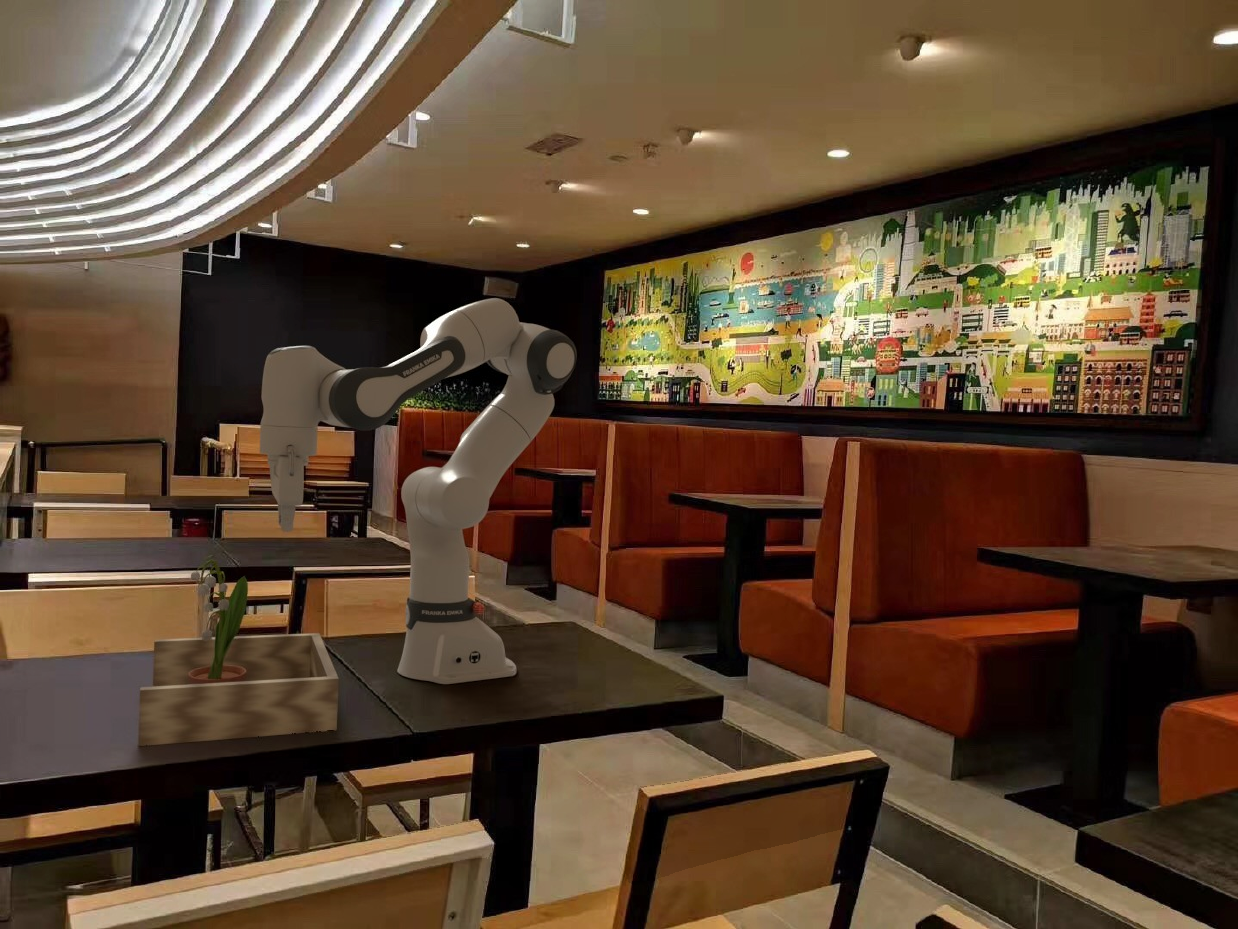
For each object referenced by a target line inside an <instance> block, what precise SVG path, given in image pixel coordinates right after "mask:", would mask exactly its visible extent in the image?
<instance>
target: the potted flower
mask: <svg viewBox="0 0 1238 929" xmlns="http://www.w3.org/2000/svg"><path fill="white" fill-rule="evenodd" d="M208 558H212V559H210V560H208V561H206V562H205V560H206V559H208ZM213 558H214V555H208V556H206V557H204V559H203V560H202V562H201V566H199V567H198V568H197V570H196V571H193V572H191V573H190V578H188V579H189V580H191V581H196V582H200V584H199V585H198V586H197V588H196V589H197V590H196V591H197V592H198V594H197V596H200V597H205V596H209V597H208V601H207V603H205V604H204V605H203V606H204V607H203V608H204V610H203V612H206V613H209V612H212V613H211V614H210V616H209V618H208V621H207V624H206V629H204V630H203V631H202V632H201V634H200V635H201V638H202V639H200V640H204V641H207V640H212V637H213V631H212V630H210V629H208V628H209V625H210V624H209V623H210V621H211V619H212V617H213V616H214V615H215V614H218V616H219V619H218V621H217V623H216V626H215V632H214V634H215V636H214V637H215V657H214V660H213V663H212V666H207V667H201V668H197V669H194V670H192V671H190V672H189V673H188V677H189V681H188V685H189V684H207V683H224V682H242V681H246V676H245V675H246V673H247V671H246V669H244V668H242V667H238V666H231V665H223V659H224V657H225V655H226V653H227V651H228V649H229V647H230V644H231V642H232V640H233V639H234V637H235V636H236V635H237V634H238V633H239V631H240V628H241V627H240V626H241V624H242V622H243V619H244V617H245V612H246V611H247V610H246V609H247V602H248V592H249V582H248V580H247V578H246V575H244V576H242V577H240V579H238V580H237V582H236V583H235V586H234V587H233V590H232V592H231V594H230V596H229V598H228V599H226V595H227V592H228V591H227V590H228V585H227V583H225V580H226V575H225V573H224V571H221V569H220V567H219V564H218V562H216V560H215V559H213ZM204 562H205V563H204ZM203 563H204V564H203ZM210 564H212V565H213V566H212V567H210V570H209V572H208V573H207V574H206V575H205V576H204V574H205V571H206V568H207V567H208V566H209V565H210ZM201 568H202V570H201V573H200V572H199V571H198V570H200V569H201ZM214 568H215V570H213V569H214ZM213 574H217V579H216V577H215V576H212V575H213ZM217 580H218V583H216V582H217ZM217 584H218V590H217V592H216V591H214V592H212V593H210V592H211V590H210V589H211V588H215V587H217ZM213 594H215V595H216V596H218V597H219V598H218V599H219V601H218V607H216V608H217V609H218V610H215V611H214V604H213V603H212V602H210V600H211V597H212V595H213Z"/></svg>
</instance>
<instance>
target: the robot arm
mask: <svg viewBox="0 0 1238 929" xmlns="http://www.w3.org/2000/svg"><path fill="white" fill-rule="evenodd" d="M516 312H517V311H516V310H515V309H514V307H513V306H512V305H510V303H509V302H507V301H505V300H504V299H501V298H497V297H494V298H493V297H492V298H486V299H482V300H478V301H475V302H471V303H469V304H465V305H463V306H460V307H458V308H456V309H453V310H452V311H449V312H446V313H445V314H443V315H441V316H439V317H438V318H436V319H435V320H433V321H432V322H431V323H428V324H427V325H426V326H425V327H424V328H423V330H422V332H421V335H420V342H419V343H420V344H419V345H420V348H418V349H416V350H415V351H414V352H411V353H410V354H407V355H405V356H403V357H401V358H400V359H397V360H396V361H394V362H392V363H389V364H388V365H386V366H382V367H359V368H358V367H357V368H355V369H353V368H352V369H346V368H345V367H343V366H342V365H339V364H337V363H335V362H333V361H331V360H330V359H328V358H327V357H325V356H324V355H323V354H322V353H320V352H319V351H318V350H317V349H316V347H314V346H311V345H296V346H294V345H293V346H287V347H277V348H275V349H273V350H271V351H270V352H269V353H268V355H267V356H266V359H265V362H264V363H265V364H264V366H263V375H262V382H261V384H262V385H261V401H262V406H263V413H262V418H261V421H260V428H259V429H260V430H259V431H260V432H259V450H258V451H259V454H260V455H267V459H266V460H267V462H266V463H267V465H268V466H269V476H270V486H271V493H272V495H273V496H274V499H275V500H276V502H277V512H278V520H277V521H278V522H277V523H278V525H279V526H280V529H281V531H282V532H284V533H285V532H292V531H294V518H295V514H296V507H301V506H302V505H303V501H304V484H305V482H304V481H305V480H304V477H305V476H304V475H305V473H304V472H305V470H304V469H305V468H304V467H305V466H309V457H315V456H318V455H317V453H318V452H317V450H318V430H319V428H318V427H319V426H318V425H319V423H320V422H323V423H325V424H328V425H330V426H336V427H344V428H352V429H354V430H358V431H362V432H363V431H365V432H366V431H374V430H376V429H379V428H381V427H382V426H384V425H386V424H387V423H388V422H389V421H390V420H391V419H392V418H393V416H394V415H395V413H397V411H398V410H399V409H400V407H401V406H402V405H403V404H404V403H405V402H407V401H408V400H409V399H411V398H412V397H415V396H416V395H418V394H419V393H421V392H423V391H424V390H426V389H429V388H430V387H432V386H433V385H435V384H437V383H439V382H441V381H442V380H444V379H447V378H449V377H454V376H457V375H461V374H463V373H466V372H468V371H470V370H473V369H475V368H477V367H479V366H480V365H483V364H484V363H487V364H488V366H490V367H491V368H492V369H493V370H495V371H497V372H499V373H501V374H502V373H503V374H506V375H507V376H508V377H507V380H506V384H505V385H504V387H503V389H502V391H501V392H500V393H499V394H498V395H497V396H496V397H495V398H494V399H493V400H492V401H491V402H490V403H489V404H488V405H487V406H486V407H485V408H484V409H483V411H481V413H480V414H479V415H478V416H477V417H476V418H475V419H474V421H472V422H471V423H470V425H469V426H468V427H467V428H466V429H465V430H464V431H463V432H462V434H461V435H460V439H459V442H458V445H457V447H456V448H455V450H454V452H453V453H452V455H451V456H450V458H449V460H448V461H447V462H446V463H445V464H444V465H443V466H442V467H437V466H427V467H423V468H420V469H418V470H416V471H413V472H411V474H409V475H408V476H407V477H406V478H405V479H404V482H403V484H402V486H401V492H400V494H401V501H402V504H403V506H404V511H405V519H406V527H407V528H406V529H407V536H408V543H409V552H410V571H409V572H410V573H409V575H410V578H409V596H408V597H407V598H406V599H407V600H406V605H405V627H406V634H405V639H404V645H403V650H402V655H401V657H400V661H399V664H398V666H397V667H398V668H397V673H398V674H399V675H401V676H403V677H406V678H409V679H414V680H419V681H427V682H428V681H429V682H431V683H432V682H433V683H436V684H439V685H441V684H442V685H450V684H459V683H467V682H474V681H482V680H483V681H484V680H491V679H499V678H507V677H513V676H515V675H516V674H517V665H516V664H515V663H514V661H512V660H511V659H509V658H508V657H506V651H505V645H504V642H503V639H502V638H501V636H500V635H499V634H498V633H497V632H495V631H494V630H493V629H492V628H490V626H488V625H487V624H485V623H484V622H483V621H482V620H481V619H480V618H478V617H477V615H482V614H484V612H485V610H486V607H485V606H484V604H483V603H481V602H478V601H475V600H474V599H472V598H470V597H469V584H470V583H469V582H470V564H471V563H470V562H471V561H470V555H469V553H468V551H467V547H466V544H465V539H464V538H465V537H464V533H463V532H464V531H463V530H466V529H468V528H472V527H474V526H477V525H478V524H479V523H480V522H481V521H482V520H483V519H484V518H485V516H486V515H487V513H488V509H489V505H490V498H491V497H492V495H493V493H494V492H495V490H496V488H497V486H498V484H499V482H500V480H501V479H502V477H503V476H504V475H505V473H506V472H507V471H508V469H509V468H510V467H511V465H513V463H514V462H515V461H516V460H517V458H518V457H519V456H520V455H521V454H522V452H523V451H524V450H525V449H526V448H527V447H528V446H529V444H531V442H532V441H533V440H534V438H535V437H537V435H538V434H539V432H540V431H541V430H542V429H543V427H544V426H545V424H546V422H547V421H548V419H549V417H550V416H551V414H552V412H553V410H554V407H555V398H554V393H557V392H558V391H560V390H561V389H562V388H563V386H564V384H565V383H566V382H567V381H568V379H569V378H570V377H571V375H572V373H573V371H574V369H575V368H576V362H577V356H578V354H577V348H576V345H575V344H574V341H572V340H571V339H570V338H569V337H568V336H567V335H566V334H564V333H562V332H560V330H556V329H551V328H548V327H545V326H543V325H539V324H534V323H527V322H522V321H521V322H520V320H519V316H518V314H517V313H516Z"/></svg>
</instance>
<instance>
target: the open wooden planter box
mask: <svg viewBox="0 0 1238 929" xmlns="http://www.w3.org/2000/svg"><path fill="white" fill-rule="evenodd" d="M200 639H202V637H190V638H189V637H188V638H187V637H186V638H165V639H164V638H163V639H159V638H158V639H154V642H153V643H154V644H153V672H152V686H141V687H140V689H139V703H138V704H139V707H138V708H139V710H138V736H137V737H138V738H137V739H138V741H137V747H143V746H144V747H145V746H146V745H147V746H157V745H169V744H181V743H195V742H205V741H206V742H209V741H218V740H219V741H220V740H230V739H231V740H233V739H243V738H244V739H245V738H256V737H258V736H259V737H268V736H269V737H270V736H279V735H280V736H282V735H283V736H284V735H295V734H294V733H296V734H305V732H309V733H317V732H316V731H318V732H319V731H321V732H328V731H327V730H334V731H337V729H338V706H339V704H338V703H339V702H338V701H339V681H340V680H339V679H340V678H339V677H338V674H337V671H336V669H335V667H334V665H333V662H332V660H331V657H330V655H329V653H328V650H327V648H326V645H325V643H324V641H323V639H322V637H321V634H320V633H319V632H318V633H317V632H313V633H312V632H311V633H290V634H289V633H288V634H287V633H286V634H267V635H265V634H264V635H263V634H262V635H238V636H235V637H234V639H233V640H232V642H231V644H230V647H229V649H228V651H227V653H226V655H225V657H224V659H223V665H231V666H238V667H242V668H244V669H246V671H247V673H246V675H245V676H246V681H242V682H224V683H207V684H189V685H188V681H189V677H188V673H189V672H190V671H192V670H194V669H197V668H201V667H207V666H212V663H213V660H214V657H215V636H212V640H207V641H204V640H200ZM292 733H293V734H292ZM147 746H146V747H147Z"/></svg>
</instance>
